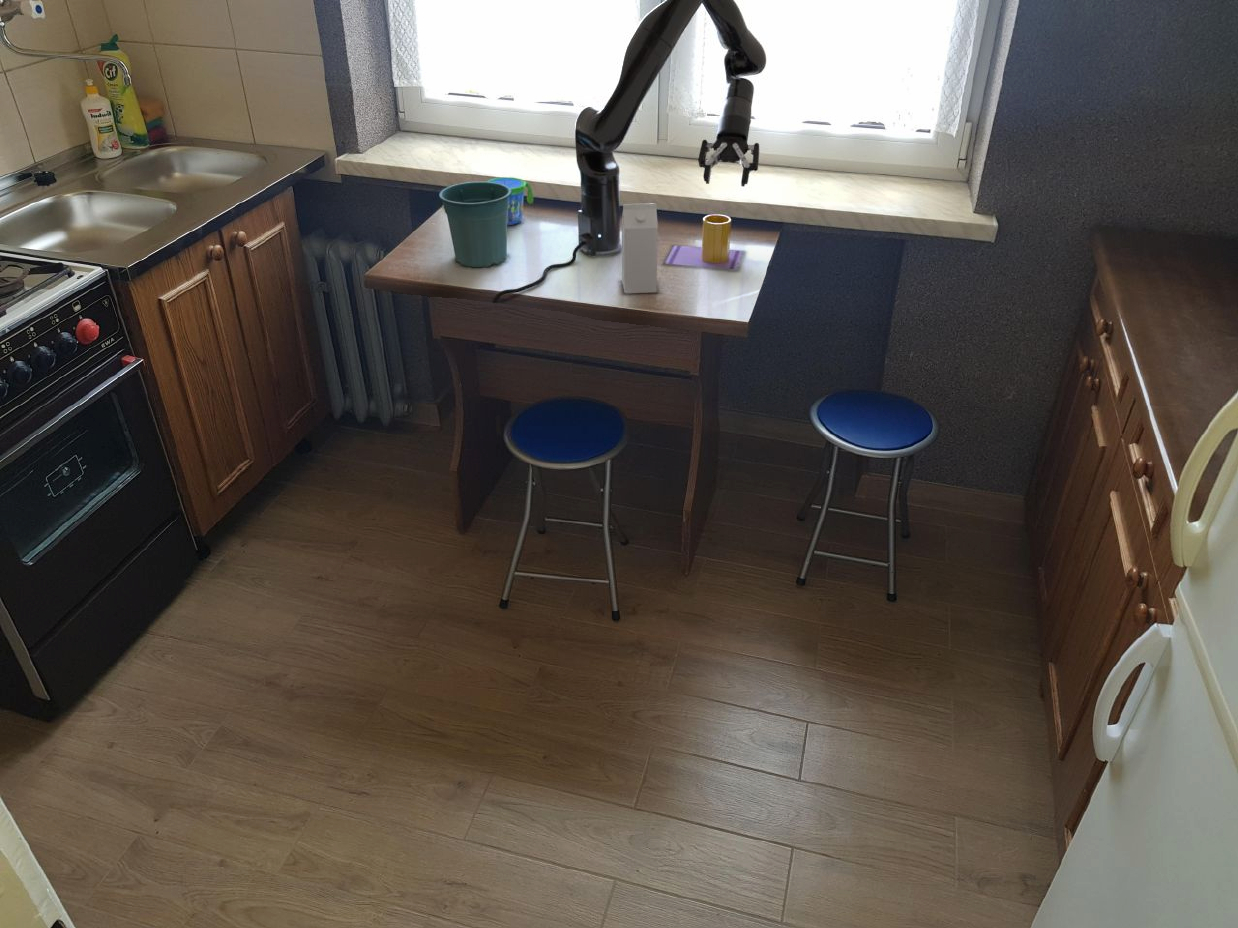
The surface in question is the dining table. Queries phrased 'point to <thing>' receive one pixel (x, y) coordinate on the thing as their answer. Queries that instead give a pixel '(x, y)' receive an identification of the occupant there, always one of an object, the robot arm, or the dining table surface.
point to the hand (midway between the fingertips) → (725, 183)
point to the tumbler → (716, 238)
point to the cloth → (693, 258)
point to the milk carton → (639, 248)
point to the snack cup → (515, 197)
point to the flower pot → (477, 221)
